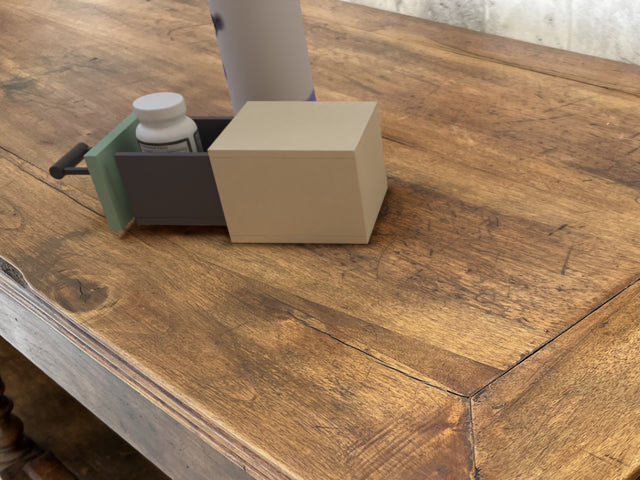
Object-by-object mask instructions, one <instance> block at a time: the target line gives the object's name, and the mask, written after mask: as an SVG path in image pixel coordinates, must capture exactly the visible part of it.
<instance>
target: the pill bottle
mask: <svg viewBox="0 0 640 480" xmlns="http://www.w3.org/2000/svg"><path fill="white" fill-rule="evenodd" d="M132 109H133V112H135V115H136V117H137V118H138V120H139V121H140V124H139V125H138V126H137V128H136V139H137V142H138V144H139V148H140V151H141V152H204V151H203V147H202V144H201V140H200V136H199V132H198V129H197V126H196V124H195V122H194V121H193V120H192V119H191V118H189V117H188V116H189V115H186V113H187V109H188V108H187V105H186V102H185V97H183V95H182V94H180V93H177V92H170V91H169V92H168V91H165V92H163V91H162V92H154V93H149V94H146V95H142V96H140V97H138V98H136V99H135V100H134V101H133V102H132Z"/></svg>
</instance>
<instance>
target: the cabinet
mask: <svg viewBox="0 0 640 480" xmlns="http://www.w3.org/2000/svg"><path fill="white" fill-rule="evenodd" d="M379 111H380V110H379V102H378V101H376V100H375V101H374V100H373V101H372V100H371V101H364V100H363V101H360V100H359V101H357V100H356V101H354V100H353V101H351V100H349V101H345V100H343V101H340V100H338V101H333V100H332V101H331V100H328V101H327V100H326V101H323V100H322V101H320V100H319V101H318V100H316V101H247V103H246V104H245V105H244V106H243V108H242V109H241V110H240V111H239V112H238V114H237V115H236V116H235V117H234V118H233V120H232V121H231V122H230V123H229V124H228V126H227V127H226V128H225V129H224V130H223V132H222V133H221V134H220V135H219V136H218V138H217V139H216V140H215V141H214V142H213V144H212V145H211V146H210V147H209V148H208V154H209V158H210V162H211V166H212V169H213V173H214V177H215V181H216V185H217V188H218V192H219V196H220V200H221V204H222V208H223V211H224V215H225V219H226V223H227V225H226V226H227V230H228V234H229V237H230V238H229V239H230V241H231V243H232V244H234V243H235V244H238V243H239V244H245V243H246V244H343V245H344V244H345V245H346V244H348V245H349V244H350V245H351V244H353V245H355V244H358V245H362V244H363V245H364V244H365V245H366V244H367V245H368V244H369V241H370V238H371V236H372V233H373V230H374V228H375V224H376V222H377V218H378V215H379V213H380V210H381V207H382V204H383V202H384V199H385V196H386V194H387V191H388V178H387V170H386V161H385V153H384V144H383V137H382V128H381V118H380V112H379Z"/></svg>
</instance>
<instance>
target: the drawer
mask: <svg viewBox="0 0 640 480" xmlns="http://www.w3.org/2000/svg"><path fill="white" fill-rule="evenodd" d="M187 116H188V117H189V118H191V119H192V120H193V121H194V122H195V124H196V126H197V129H198V132H199V136H200V140H201V144H202V147H203V151H204V152H141V151H140V148H139V144H138V142H137V139H136V128H137V126H138V125H139V124H140V121H139V120H138V118H137V117H136V115H135V112H134V111H132V112H131V113H130V114H128V115H127V116H126V117H125V118H124V119H123V120H122V121H121V122H120V123H118V124H117V125H116V126H115V127H114V128H113V129H112V130H110V131H109V133H107V134H106V135H105V136H104V137H102V139H100V141H98V142H97V143H96V144H95V145H94V146H89V145H88V144H87V143H85V142H78V143H77V144H76V145H74V146H73V147H72V148H71V149H69V151H67V152H66V153H65V154H64V155H63V156H62V157H60V158H59V159H58V160H57V161H55V162H54V163H53V164H52V165H51V166H50V167H49V169H48V173H49V176H50V177H52V178H53V179H55V180H57V181H58V180H63V179H64V178H65V177H66V176H90V178H91V181H92V183H93V186H94V189H95V192H96V195H97V197H98V200H99V203H100V206H101V208H102V210H103V214H104V216H105V220H106V222H107V224H108V227H109V230H110V231H111V232H123V231H124V229H126V227H128V225H129V224H130V222H131V221H132V220H133V219H135V222H136V225H137V226H227V223H226V219H225V215H224V211H223V208H222V204H221V200H220V196H219V192H218V188H217V185H216V181H215V177H214V173H213V169H212V166H211V162H210V158H209V154H208V148H209V147H210V146H211V145H212V144H213V142H214V141H215V140H216V139H217V138H218V136H219V135H220V134H221V133H222V132H223V130H224V129H225V128H226V127H227V126H228V124H229V123H230V122H231V121H232V120H233V118H234V117H235V116H231V115H224V116H223V115H222V116H221V115H220V116H218V115H215V116H214V115H211V116H210V115H209V116H208V115H206V116H205V115H204V116H203V115H200V116H199V115H197V116H196V115H187ZM82 161H84V162H85V165H86V166H78V165H79V164H81V162H82Z"/></svg>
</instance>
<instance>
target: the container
mask: <svg viewBox="0 0 640 480" xmlns="http://www.w3.org/2000/svg"><path fill="white" fill-rule="evenodd" d="M207 4H208V10H209V14H210V17H211V18H210V19H211V22H212V24H213V28H214V31H215V39H216V43H217V47H218V52H219V57H220V60H221V65H222V69H223V74H224V78H225V82H226V87H227V90H228V94H229V98H230V103H231V108H232V112H233V115H234V116H236V115H237V114H238V112H239V111H240V110H241V109H242V108H243V106H244V105H245V104H246V103H247V101H317V97H316V92H315V91H316V90H315V83H314V78H313V72H312V66H311V61H310V55H309V49H308V43H307V36H306V31H305V24H304V19H303V12H302V6H301V1H300V0H207Z"/></svg>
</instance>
